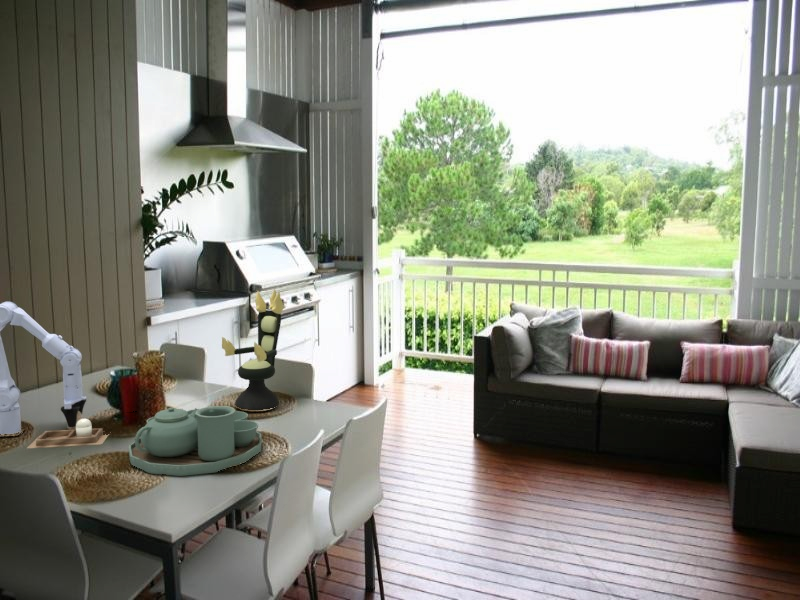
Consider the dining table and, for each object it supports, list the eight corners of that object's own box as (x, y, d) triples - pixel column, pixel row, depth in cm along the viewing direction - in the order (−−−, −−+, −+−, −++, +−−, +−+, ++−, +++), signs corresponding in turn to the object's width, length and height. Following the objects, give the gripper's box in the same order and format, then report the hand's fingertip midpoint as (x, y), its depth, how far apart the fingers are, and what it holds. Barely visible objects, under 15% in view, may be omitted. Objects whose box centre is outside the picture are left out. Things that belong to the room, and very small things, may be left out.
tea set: (283, 439, 219) (282, 390, 217) (217, 485, 181) (216, 427, 179) (180, 427, 230) (178, 381, 228) (97, 468, 192) (94, 413, 190)
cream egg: (74, 441, 212) (73, 421, 212) (78, 436, 217) (77, 417, 216) (90, 440, 213) (89, 420, 212) (93, 436, 218) (92, 416, 217)
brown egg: (65, 431, 224) (64, 412, 223) (69, 427, 228) (68, 408, 227) (80, 430, 225) (79, 411, 224) (84, 426, 229) (83, 408, 228)
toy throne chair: (221, 408, 252) (218, 291, 246) (262, 395, 271) (260, 286, 265) (257, 417, 242) (255, 295, 236) (297, 403, 261) (296, 289, 255)
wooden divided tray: (26, 450, 206) (26, 442, 206) (40, 436, 218) (39, 429, 218) (101, 446, 210) (101, 438, 210) (111, 433, 223) (110, 426, 222)
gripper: (79, 389, 218) (81, 429, 220) (90, 379, 232) (92, 416, 234) (56, 390, 217) (58, 430, 219) (69, 380, 231) (71, 417, 233)
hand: (74, 423), depth 226 cm, fingers open, 6 cm apart
